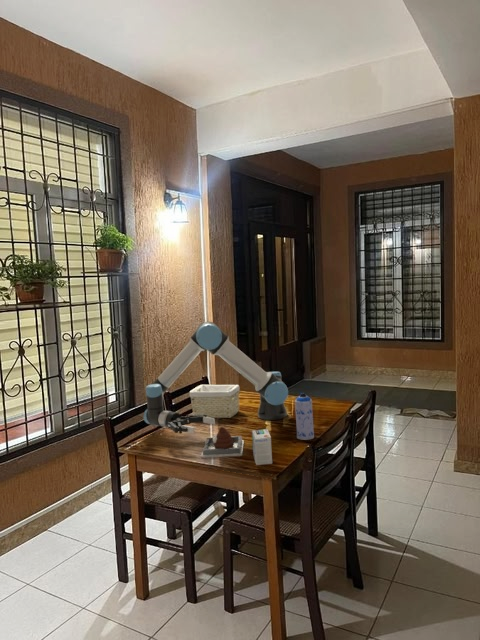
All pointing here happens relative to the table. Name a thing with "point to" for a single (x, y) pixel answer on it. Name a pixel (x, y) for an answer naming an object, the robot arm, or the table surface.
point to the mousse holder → (223, 452)
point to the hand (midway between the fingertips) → (204, 425)
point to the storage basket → (215, 400)
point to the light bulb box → (262, 447)
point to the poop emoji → (223, 439)
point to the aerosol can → (304, 417)
